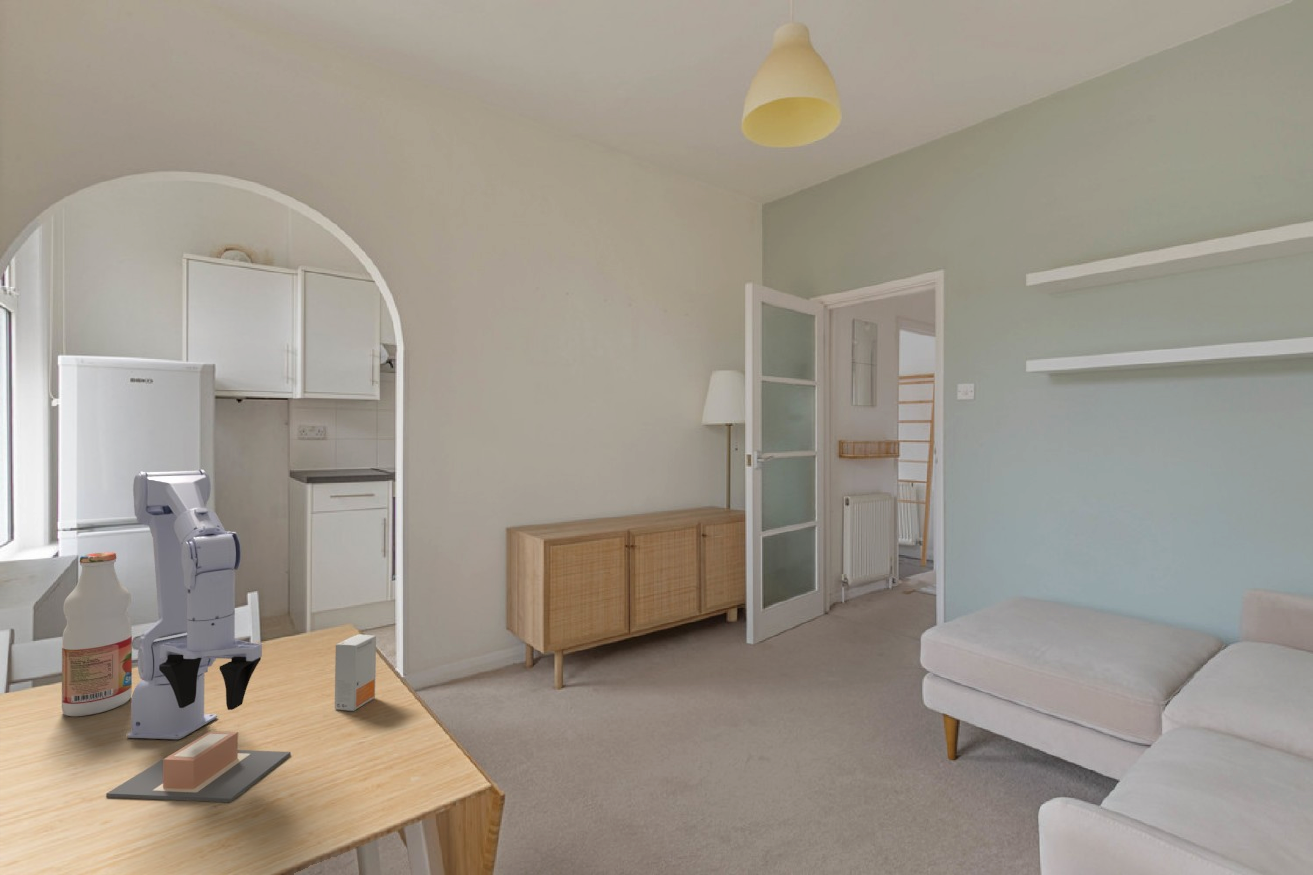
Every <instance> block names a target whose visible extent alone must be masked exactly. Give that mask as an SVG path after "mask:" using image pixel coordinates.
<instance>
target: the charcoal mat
mask: <svg viewBox="0 0 1313 875" xmlns="http://www.w3.org/2000/svg"><path fill="white" fill-rule="evenodd" d="M181 748H182V747H180V748H179V749H177V750H176V751H178V750H180V749H181ZM176 751H174V752H172V753H171V754H173V753H175V752H176ZM291 753H292V752H291V751H281V750H280V751H278V750H277V751H276V750H273V751H272V750H253V749H252V750H247V749H246V750H245V749H244V750H242V749H238V758H237V759H236V760H234V761H233V762H232V763H230V764H229V765H227V766H226V767H225V768H223V769H222V770H220V771H219V772H217V773H216V774H215V775H213V776H212V777H210V778H209V779H208V780H206V781H205V782H203V783H202V784H200V785H199V786H198V787H196V788H195V789H175V788H163V759H165V758H166V757H168V756H170V755H171V754H169V755H166V757H164V758H162V759H160V760H159V761H157V762H156V763H154V764H153V765H151V766H149V767H148V768H145V769H144V770H142V771H141V772H139V773H138V774H136V775H134V776H133V777H131V778H130V779H128V780H126V781H125V782H123V783H122V784H119V785H118V786H117V787H115V788H112V789H111V790H110V791H108V792H106V795H105V797H106V798H117V799H118V798H119V799H120V798H121V799H139V800H140V799H142V800H143V799H144V800H145V799H146V800H165V801H167V800H168V801H169V800H171V801H187V802H189V801H191V802H192V801H194V802H216V803H232V802H233V801H234V800H235V799H236V798H238V797H239V796H241V795H242V794H243V793H245V792H246V791H247V790H248V789H250V788H251V787H252V786H253V785H255V784H256V783H257V782H259V781H260V780H261V779H263V777H264V776H267V774H269V773H270V772H272V770H274V769H275V768H276V767H278V765H280V764H281V763H283V761H285V760H287V759H288V758H290V756H291Z"/></svg>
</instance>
